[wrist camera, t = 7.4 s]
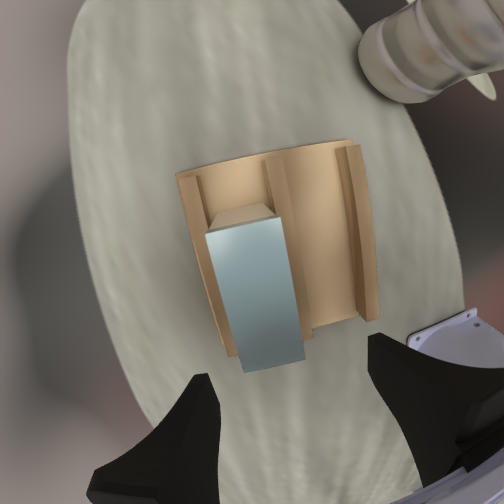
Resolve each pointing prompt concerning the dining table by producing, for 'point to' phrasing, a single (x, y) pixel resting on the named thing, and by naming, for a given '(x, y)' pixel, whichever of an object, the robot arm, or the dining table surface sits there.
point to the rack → (296, 227)
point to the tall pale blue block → (256, 286)
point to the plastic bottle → (432, 47)
